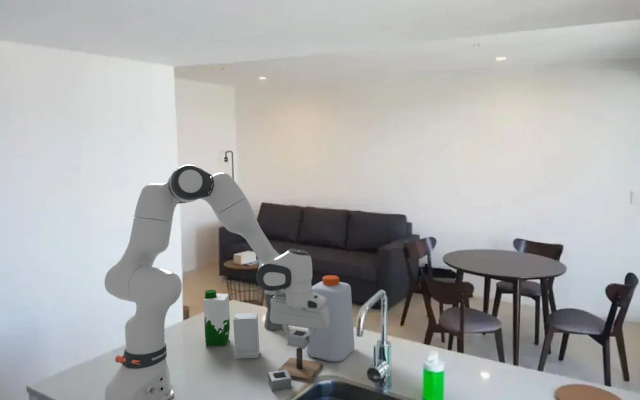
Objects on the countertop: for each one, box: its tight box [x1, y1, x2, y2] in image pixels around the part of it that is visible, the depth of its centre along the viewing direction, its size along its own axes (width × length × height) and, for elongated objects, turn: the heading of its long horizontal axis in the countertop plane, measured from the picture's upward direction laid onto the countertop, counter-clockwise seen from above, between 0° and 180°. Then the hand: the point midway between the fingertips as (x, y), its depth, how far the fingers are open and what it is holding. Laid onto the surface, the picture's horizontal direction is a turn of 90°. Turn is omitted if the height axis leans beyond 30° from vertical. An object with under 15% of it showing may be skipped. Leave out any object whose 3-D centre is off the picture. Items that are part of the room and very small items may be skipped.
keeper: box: [276, 347, 324, 383], centre depth 162 cm, size 12×12×8 cm
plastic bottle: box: [305, 274, 355, 363], centre depth 174 cm, size 15×15×28 cm
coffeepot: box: [263, 288, 286, 332], centre depth 198 cm, size 15×9×18 cm, turn 178°
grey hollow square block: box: [286, 328, 311, 350], centre depth 161 cm, size 6×6×4 cm
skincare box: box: [232, 312, 260, 360], centre depth 173 cm, size 8×6×15 cm
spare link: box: [267, 370, 292, 393], centre depth 152 cm, size 6×6×4 cm
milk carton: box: [203, 289, 231, 347], centre depth 183 cm, size 9×9×20 cm
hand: (299, 338), depth 161 cm, fingers closed on grey hollow square block, 6 cm apart
